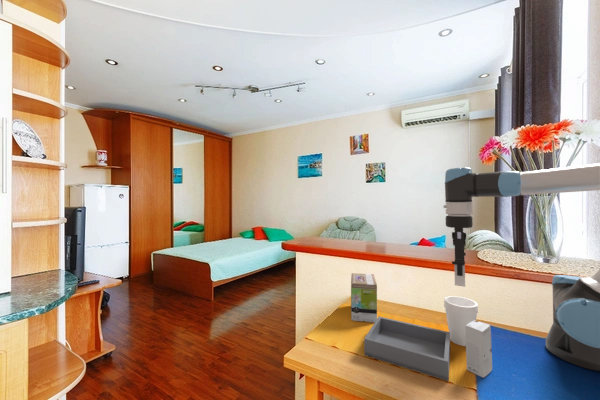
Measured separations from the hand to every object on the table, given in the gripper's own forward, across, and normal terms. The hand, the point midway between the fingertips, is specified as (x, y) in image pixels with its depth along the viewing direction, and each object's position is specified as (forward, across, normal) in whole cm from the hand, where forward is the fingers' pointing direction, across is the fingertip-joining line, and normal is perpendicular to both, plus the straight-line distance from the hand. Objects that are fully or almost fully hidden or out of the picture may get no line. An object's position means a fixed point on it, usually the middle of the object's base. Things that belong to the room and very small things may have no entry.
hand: (459, 279), depth 84 cm
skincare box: (+20, +14, +4) cm, 25 cm away
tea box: (+20, -4, -34) cm, 40 cm away
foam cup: (+20, 0, 0) cm, 20 cm away
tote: (+20, +15, -14) cm, 29 cm away
